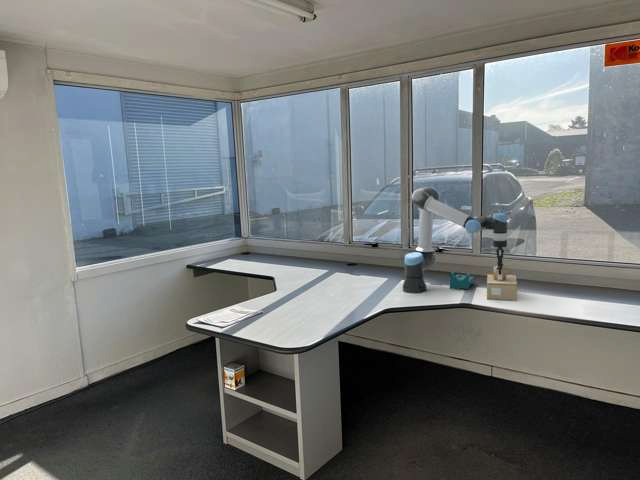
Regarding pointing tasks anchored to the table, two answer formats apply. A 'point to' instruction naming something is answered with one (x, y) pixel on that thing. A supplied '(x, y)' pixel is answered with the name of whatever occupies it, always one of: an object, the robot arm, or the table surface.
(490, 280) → the lid
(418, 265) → the robot arm
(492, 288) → the carton
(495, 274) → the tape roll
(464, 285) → the teal irregular block
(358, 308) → the table surface
